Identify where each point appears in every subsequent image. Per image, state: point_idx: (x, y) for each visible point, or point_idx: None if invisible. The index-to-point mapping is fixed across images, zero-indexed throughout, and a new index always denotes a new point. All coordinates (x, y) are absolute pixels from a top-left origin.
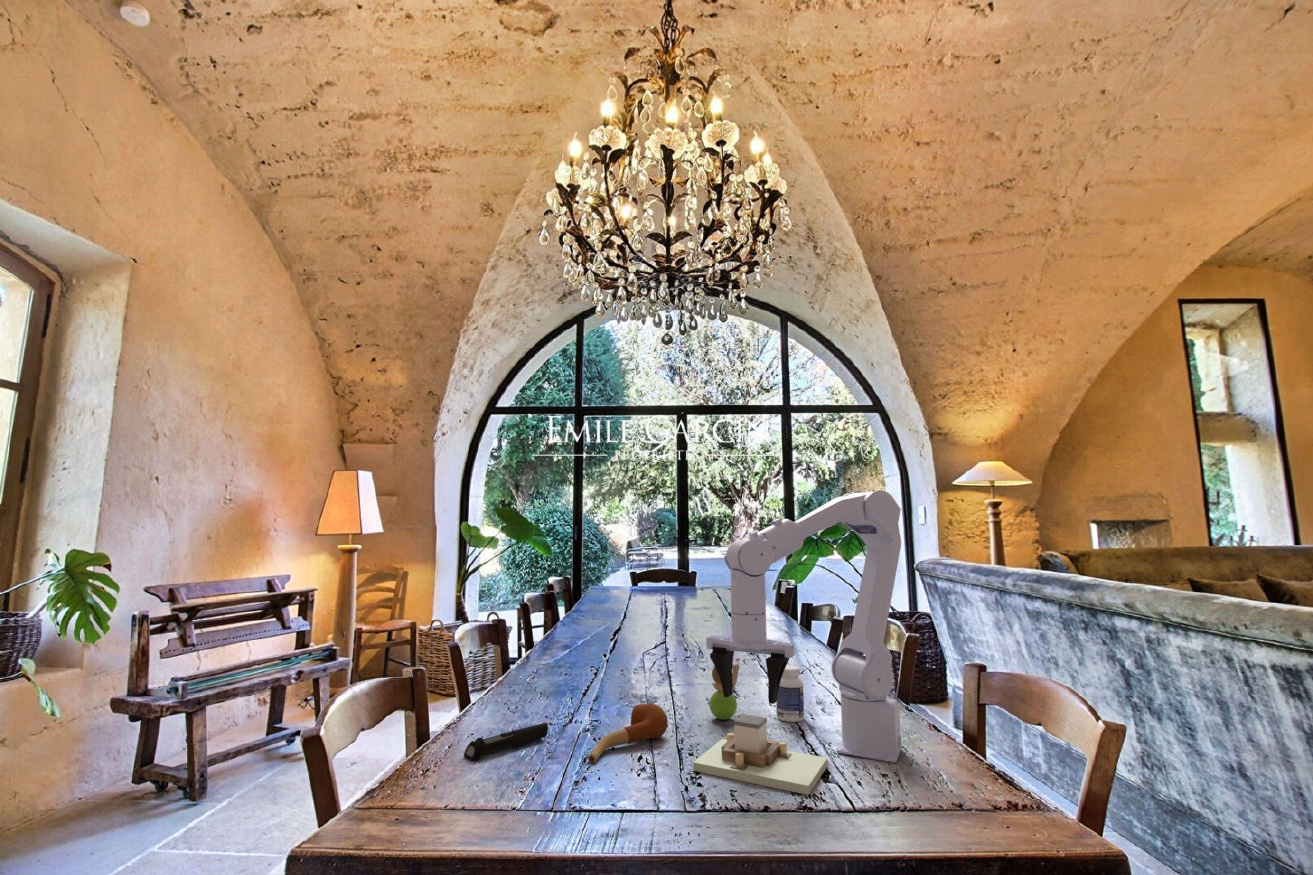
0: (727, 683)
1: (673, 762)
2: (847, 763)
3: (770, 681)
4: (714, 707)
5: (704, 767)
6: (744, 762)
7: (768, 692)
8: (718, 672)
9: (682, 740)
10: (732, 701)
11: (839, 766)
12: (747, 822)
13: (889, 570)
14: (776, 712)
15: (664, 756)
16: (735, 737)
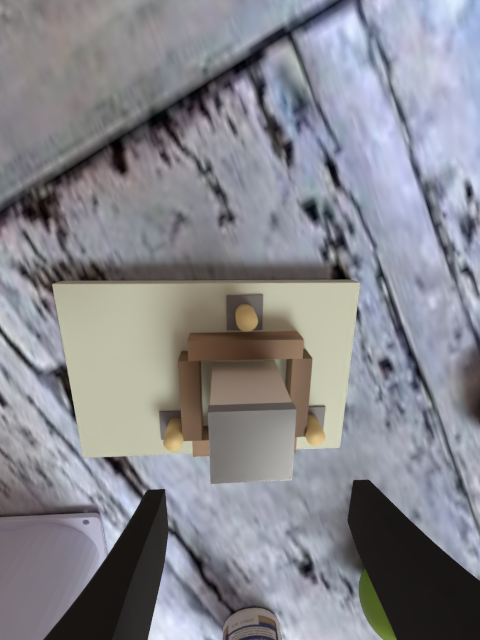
0: (385, 541)
1: (410, 302)
2: (61, 477)
3: (113, 590)
4: None
5: (326, 281)
6: (239, 333)
7: (150, 527)
8: (476, 582)
9: (427, 426)
10: (375, 612)
11: (69, 455)
12: (125, 48)
13: None
14: (279, 629)
15: (440, 324)
16: (282, 384)
